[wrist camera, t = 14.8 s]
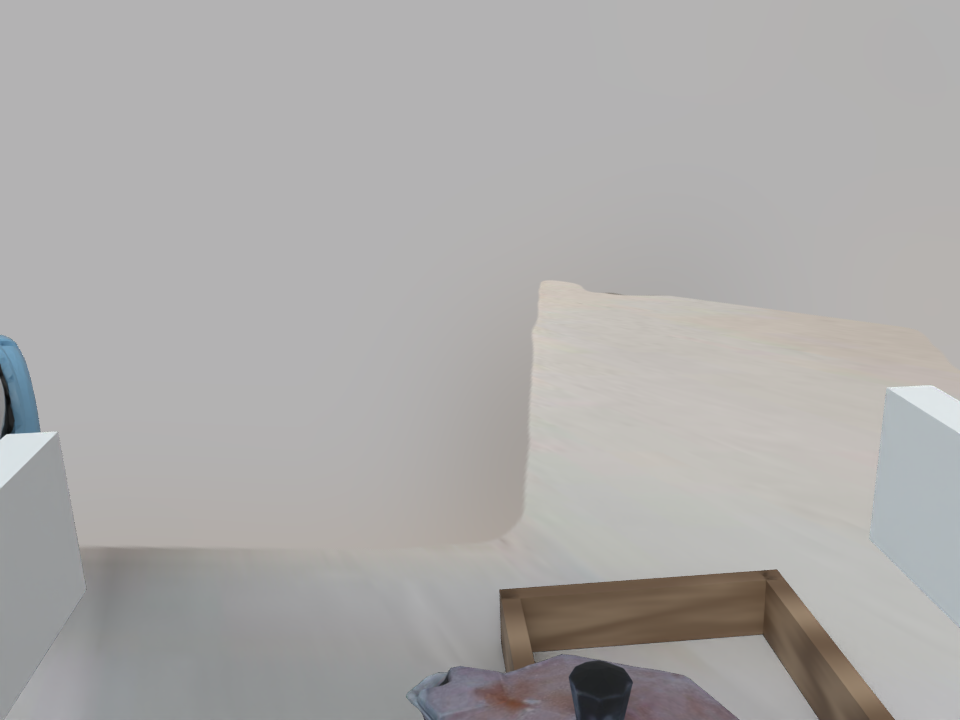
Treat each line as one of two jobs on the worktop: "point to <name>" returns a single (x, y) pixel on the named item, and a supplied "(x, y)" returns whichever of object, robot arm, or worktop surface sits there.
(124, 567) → the worktop surface
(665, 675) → the moka pot
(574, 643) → the frame
